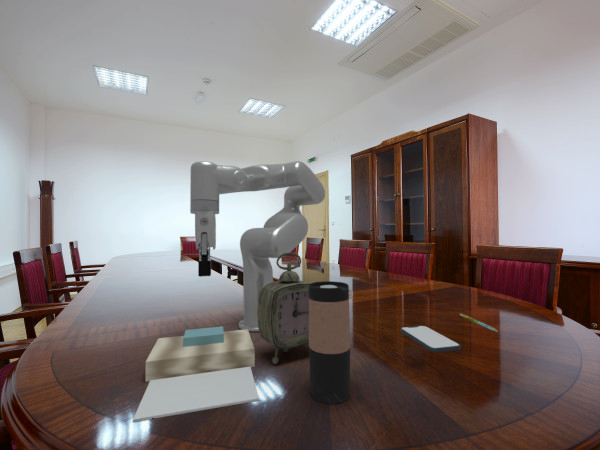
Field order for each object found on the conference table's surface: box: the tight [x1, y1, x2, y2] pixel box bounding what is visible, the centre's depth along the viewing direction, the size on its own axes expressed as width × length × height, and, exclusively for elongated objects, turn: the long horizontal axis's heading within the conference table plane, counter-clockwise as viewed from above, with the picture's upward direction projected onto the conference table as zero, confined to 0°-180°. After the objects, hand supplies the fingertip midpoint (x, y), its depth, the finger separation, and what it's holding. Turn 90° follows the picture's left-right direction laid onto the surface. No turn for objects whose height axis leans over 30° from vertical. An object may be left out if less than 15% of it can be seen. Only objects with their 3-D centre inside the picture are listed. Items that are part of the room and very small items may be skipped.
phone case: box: [399, 325, 462, 353], centre depth 80 cm, size 9×2×16 cm
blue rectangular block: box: [183, 325, 225, 347], centre depth 71 cm, size 9×6×2 cm, turn 106°
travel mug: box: [308, 280, 351, 405], centre depth 54 cm, size 8×8×20 cm
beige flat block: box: [145, 329, 256, 383], centre depth 69 cm, size 22×14×4 cm, turn 106°
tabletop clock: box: [257, 251, 312, 365], centre depth 72 cm, size 14×9×25 cm, turn 122°
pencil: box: [459, 313, 499, 333], centre depth 94 cm, size 1×1×18 cm
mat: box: [132, 367, 260, 423], centre depth 55 cm, size 20×13×1 cm, turn 106°
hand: (204, 275), depth 79 cm, fingers closed
